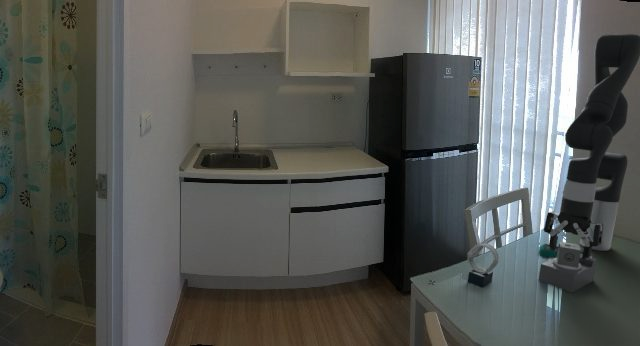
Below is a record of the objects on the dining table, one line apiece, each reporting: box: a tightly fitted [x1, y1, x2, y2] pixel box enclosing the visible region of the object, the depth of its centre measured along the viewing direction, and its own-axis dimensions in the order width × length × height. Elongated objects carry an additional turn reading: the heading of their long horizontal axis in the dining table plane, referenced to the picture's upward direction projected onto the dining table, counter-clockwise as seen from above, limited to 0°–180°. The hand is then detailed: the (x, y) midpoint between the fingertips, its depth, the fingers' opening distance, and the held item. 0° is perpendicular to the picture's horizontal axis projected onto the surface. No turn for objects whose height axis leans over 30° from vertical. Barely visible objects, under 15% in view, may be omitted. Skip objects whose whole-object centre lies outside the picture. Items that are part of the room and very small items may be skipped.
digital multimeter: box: [538, 243, 583, 259], centre depth 147 cm, size 7×15×3 cm, turn 58°
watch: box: [466, 242, 499, 289], centre depth 124 cm, size 6×8×11 cm
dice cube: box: [557, 241, 582, 268], centre depth 126 cm, size 5×5×5 cm
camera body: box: [537, 254, 598, 293], centre depth 128 cm, size 14×9×7 cm, turn 128°
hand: (568, 253), depth 126 cm, fingers open, 8 cm apart
